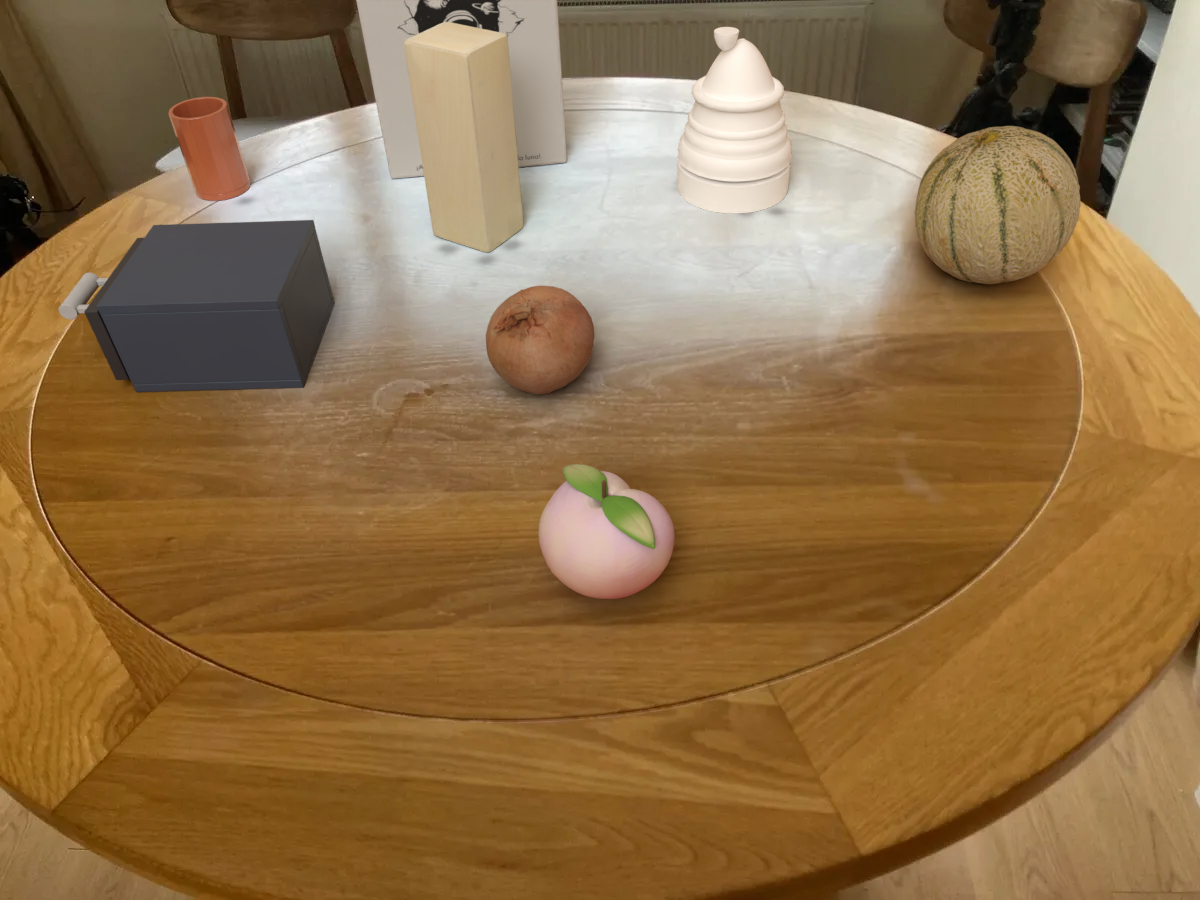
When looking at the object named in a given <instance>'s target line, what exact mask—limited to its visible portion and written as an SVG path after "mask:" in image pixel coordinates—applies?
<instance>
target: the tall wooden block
mask: <svg viewBox="0 0 1200 900" xmlns="http://www.w3.org/2000/svg"><path fill="white" fill-rule="evenodd" d="M404 48H405V55H406V61H407V68H408V74H409V80H410V87H411V94H412V100H413V106H414V113H415V119H416V125H417V132H418V139H419V145H420V152H421V158H422V165H423V171H424V176H423V177H424V183H425V189H426V190H425V191H426V196H427V197H426V198H427V203H428V209H429V215H430V223H431V228H432V234H433V235H434V236H435V237H437V238H440V239H443V240H446V241H450V242H452V243H456V244H458V245H462V246H465V247H468V248H471V249H474V250H477V251H480V252H482V253H491V252H492V251H494V250H495V249H497V248H498V247H500V246H501V245H503V243H505V242H506V241H508V240H509V239H510V238H512V237H513V236H514V235H516V234H517V233H519V232H520V231H521V230H522V229H523V228H524V218H523V217H524V216H523V204H522V193H521V192H522V191H521V181H520V167H518V156H517V144H516V132H515V121H514V110H513V97H512V84H511V72H510V60H509V48H508V38H507V35H506V34H504V33H500V32H495V31H490V30H485V29H481V28H476V27H471V26H466V25H461V24H456V23H451V22H443V23H441V24H438V25H436V26H434V27H432V28H430V29H428V30H426V31H424V32H421V33H419V34H417V35H415V36H413V37H411V38H409V39H407V40H405V42H404Z"/></svg>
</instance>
